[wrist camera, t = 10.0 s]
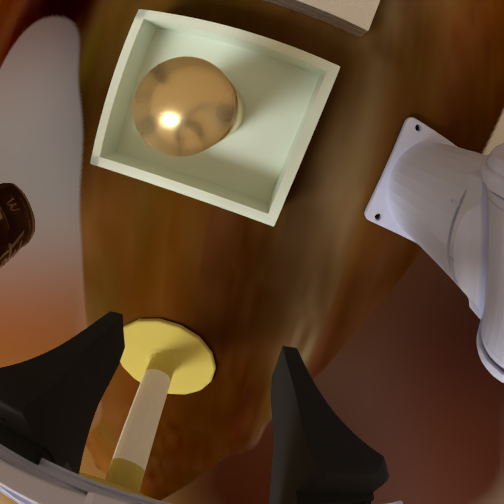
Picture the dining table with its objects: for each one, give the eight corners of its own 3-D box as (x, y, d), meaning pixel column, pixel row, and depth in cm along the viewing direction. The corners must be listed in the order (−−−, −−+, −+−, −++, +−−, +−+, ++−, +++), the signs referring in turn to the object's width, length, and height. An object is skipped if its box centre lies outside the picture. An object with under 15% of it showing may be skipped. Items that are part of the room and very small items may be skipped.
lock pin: (253, 89, 17) (248, 70, 10) (233, 148, 19) (215, 168, 12) (192, 73, 17) (149, 48, 10) (173, 131, 18) (122, 143, 11)
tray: (329, 73, 17) (340, 66, 14) (272, 211, 21) (273, 226, 18) (154, 21, 16) (138, 9, 13) (110, 156, 20) (90, 163, 17)
